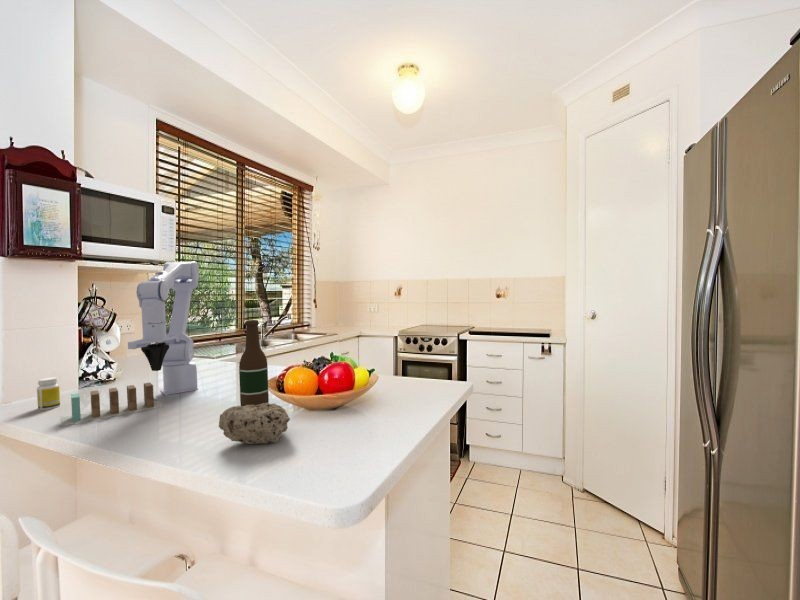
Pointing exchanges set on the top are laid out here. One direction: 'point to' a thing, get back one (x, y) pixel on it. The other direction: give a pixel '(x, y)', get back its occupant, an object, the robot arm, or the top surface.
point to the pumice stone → (254, 423)
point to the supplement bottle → (48, 394)
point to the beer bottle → (253, 369)
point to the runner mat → (108, 413)
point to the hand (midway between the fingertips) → (156, 370)
